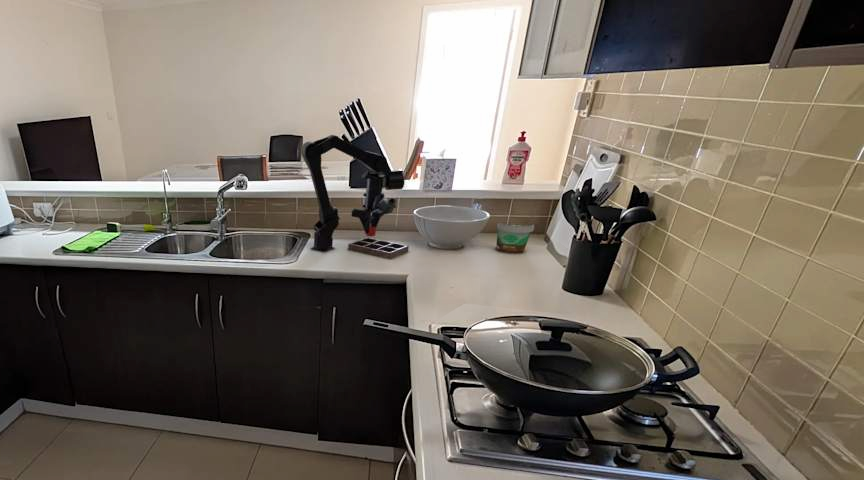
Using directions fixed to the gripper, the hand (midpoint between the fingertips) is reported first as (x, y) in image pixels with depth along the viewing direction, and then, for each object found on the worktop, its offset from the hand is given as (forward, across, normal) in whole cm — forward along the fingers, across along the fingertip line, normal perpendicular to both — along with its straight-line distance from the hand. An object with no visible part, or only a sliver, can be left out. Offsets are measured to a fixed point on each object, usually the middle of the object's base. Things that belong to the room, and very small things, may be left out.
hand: (370, 232), depth 193 cm
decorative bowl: (+6, +21, -21) cm, 30 cm away
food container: (+6, +27, -43) cm, 51 cm away
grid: (+5, -3, -6) cm, 9 cm away
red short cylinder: (+1, 0, 0) cm, 1 cm away
